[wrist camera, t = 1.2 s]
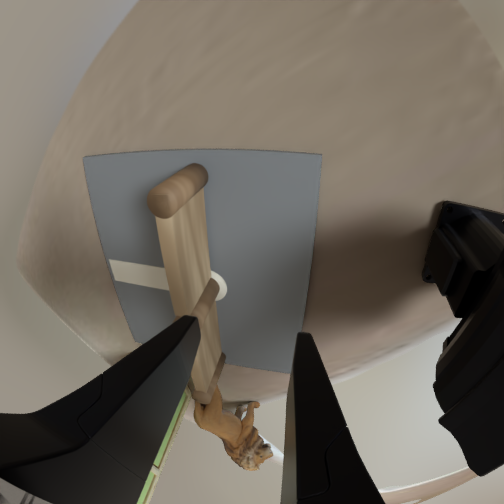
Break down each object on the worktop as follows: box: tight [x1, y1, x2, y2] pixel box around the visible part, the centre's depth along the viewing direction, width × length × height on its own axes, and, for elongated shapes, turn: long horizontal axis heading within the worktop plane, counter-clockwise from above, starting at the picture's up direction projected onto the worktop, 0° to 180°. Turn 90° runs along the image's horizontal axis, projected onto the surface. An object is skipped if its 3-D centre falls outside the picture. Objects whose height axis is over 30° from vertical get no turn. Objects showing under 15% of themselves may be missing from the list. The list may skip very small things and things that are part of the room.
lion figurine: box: [194, 385, 273, 471], centre depth 29 cm, size 15×5×9 cm, turn 43°
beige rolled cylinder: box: [147, 163, 211, 317], centre depth 18 cm, size 2×9×5 cm, turn 0°
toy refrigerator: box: [137, 385, 192, 504], centre depth 25 cm, size 8×7×21 cm
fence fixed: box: [173, 278, 226, 404], centre depth 24 cm, size 2×11×6 cm, turn 1°
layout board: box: [83, 149, 322, 374], centre depth 24 cm, size 18×22×1 cm
